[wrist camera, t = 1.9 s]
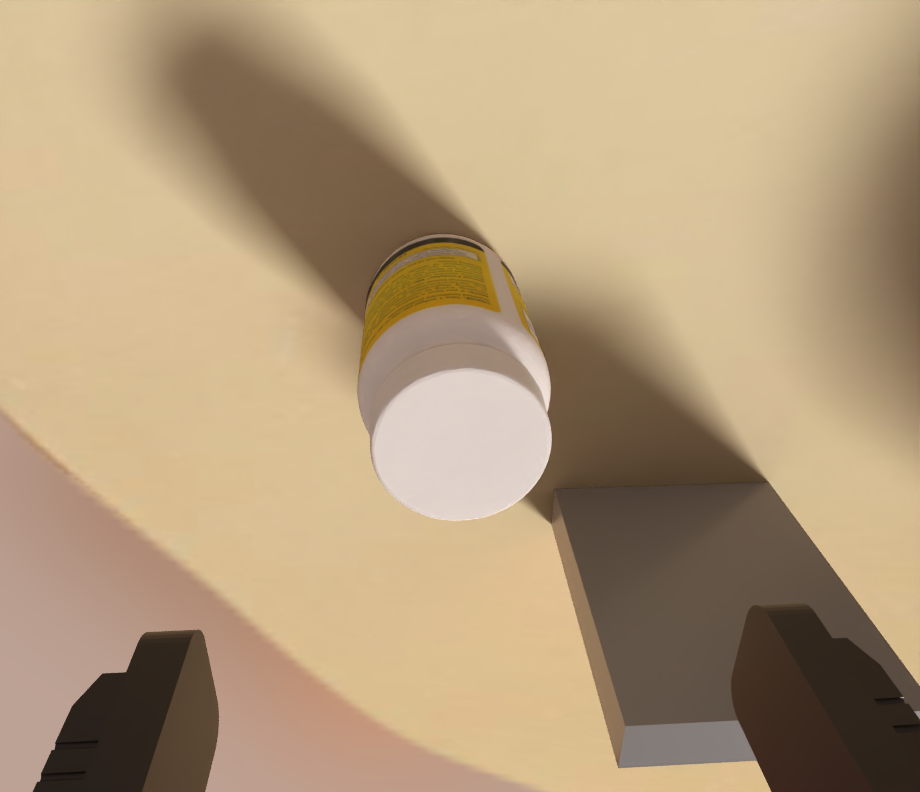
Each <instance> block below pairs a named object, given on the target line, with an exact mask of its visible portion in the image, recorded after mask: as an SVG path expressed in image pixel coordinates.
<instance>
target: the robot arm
mask: <svg viewBox="0 0 920 792" xmlns="http://www.w3.org/2000/svg"><path fill="white" fill-rule="evenodd" d="M731 694H732V701H733V706H734V710H735V713H736V716H737V719H738V721H739V723H740V726H741V728H742V730H743V732H744V734H745V736H746V738H747V740H748V743H749V745H750V747H751V749H752V751H753V753H754V755H755V757H756V760H757V762H758V764H759V766H760V768H761V770H762V772H763V774H764V777H765V779H766V781H767V783H768V785H769V787H770V789H771V791H772V792H920V719H919V717H918V716H917V715H916V713H915V712H914V710H913V709H912V708H911V706H910V705H909V704H905V702H904V697H903V695H902V694H901V692H900V691H899V690H898V688H897V687H896V686H895V684H894V683H893V681H892V680H891V679H890V677H889V676H888V675H887V673H886V672H885V670H884V669H883V668H882V666H881V665H880V664H879V663H878V662H876V661H875V660H874V659H873V658H871V657H870V656H869V655H868V654H866V653H865V652H864V651H863V650H861V649H860V648H859V647H858V646H856V645H855V644H854V643H853V642H852V641H850V640H849V639H848V638H832V637H831V635H830V634H829V632H828V631H827V629H826V628H825V626H824V625H823V623H822V622H821V620H820V619H819V617H818V616H817V614H816V613H815V612H814V610H813V609H812V608H811V607H810V606H809V605H807V604H805V603H790V604H769V605H754V606H752V607H751V608H750V609H749V611H748V613H747V617H746V621H745V625H744V629H743V633H742V637H741V641H740V644H739V648H738V652H737V656H736V660H735V664H734V668H733V672H732V677H731ZM218 722H219V711H218V701H217V696H216V691H215V686H214V682H213V677H212V672H211V667H210V662H209V658H208V653H207V648H206V644H205V639H204V635H203V633H202V632H201V631H200V630H184V631H164V632H146V633H144V634H143V635H142V637H141V638H140V640H139V642H138V644H137V647H136V649H135V652H134V654H133V657H132V659H131V662H130V664H129V667H128V669H127V672H125V673H105V674H102V675H101V676H100V677H99V678H98V679H97V680H96V681H95V682H94V683H93V684H92V685H91V686H90V688H89V689H88V690H87V691H86V692H85V693H84V694H83V695H82V696H81V697H80V698H79V699H78V700H77V701H76V703H75V704H74V705H73V706H72V708H71V710H70V712H69V714H68V716H67V719H66V721H65V723H64V725H63V727H62V729H61V732H60V734H59V736H58V738H57V740H56V742H55V744H56V746H55V750H52V751H51V754H50V755H49V758H48V760H47V762H46V764H45V766H44V768H43V771H42V773H41V780H40V782H37V784H36V786H35V788H34V790H33V792H205V790H206V786H207V782H208V777H209V773H210V769H211V765H212V761H213V757H214V753H215V749H216V743H217V737H218V724H219V723H218Z"/></svg>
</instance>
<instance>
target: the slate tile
mask: <svg viewBox="0 0 920 792" xmlns="http://www.w3.org/2000/svg"><path fill="white" fill-rule="evenodd" d="M552 528H553V532H554V535H555V539H556V542H557V546H558V550H559V553H560V557H561V561H562V564H563V568H564V572H565V575H566V579H567V583H568V586H569V590H570V594H571V597H572V601H573V605H574V608H575V612H576V616H577V619H578V623H579V626H580V630H581V634H582V637H583V641H584V645H585V648H586V652H587V656H588V659H589V663H590V667H591V670H592V674H593V678H594V681H595V685H596V689H597V692H598V696H599V699H600V703H601V707H602V710H603V714H604V718H605V721H606V725H607V729H608V732H609V736H610V740H611V743H612V747H613V751H614V754H615V758H616V762H617V765H618V768H629V767H648V766H666V765H684V764H702V763H721V762H739V761H757V760H756V757H755V755H754V753H753V751H752V749H751V747H750V745H749V743H748V740H747V738H746V736H745V734H744V732H743V730H742V728H741V726H740V723H739V721H738V719H737V716H736V713H735V710H734V706H733V701H732V694H731V677H732V672H733V668H734V664H735V660H736V656H737V652H738V648H739V644H740V641H741V637H742V633H743V629H744V625H745V621H746V617H747V613H748V611H749V609H750V608H751V607H752V606H754V605H769V604H790V603H805V604H807V605H809V606H810V607H811V608H812V609H813V610H814V612H815V613H816V614H817V616H818V617H819V619H820V620H821V622H822V623H823V625H824V626H825V628H826V629H827V631H828V632H829V634H830V635H831V637H832V638H848V639H849V640H850V641H852V642H853V643H854V644H855V645H856V646H858V647H859V648H860V649H861V650H863V651H864V652H865V653H866V654H868V655H869V656H870V657H871V658H873V659H874V660H875V661H876V662H878V663H879V664H880V665H881V666H882V668H883V669H884V670H885V672H886V673H887V675H888V676H889V677H890V679H891V680H892V681H893V683H894V684H895V686H896V687H897V688H898V690H899V691H900V692H901V694H902V695H903V697H904V702H905V704H909V705H910V706H911V708H912V709H913V710H914V712H915V713H916V715H917V716H918V717H919V719H920V686H919V685H918V683H917V682H916V681H915V679H914V678H913V676H912V675H911V674H910V672H909V671H908V670H907V668H906V667H905V666H904V664H903V663H902V662H901V660H900V659H899V658H898V656H897V655H896V654H895V652H894V651H893V649H892V648H891V647H890V645H889V644H888V643H887V641H886V640H885V639H884V637H883V636H882V635H881V633H880V632H879V631H878V629H877V628H876V626H875V625H874V624H873V622H872V621H871V620H870V618H869V617H868V616H867V614H866V613H865V612H864V610H863V609H862V608H861V606H860V605H859V604H858V602H857V601H856V599H855V598H854V597H853V595H852V594H851V593H850V591H849V590H848V589H847V587H846V586H845V585H844V583H843V582H842V581H841V579H840V578H839V577H838V575H837V574H836V572H835V571H834V570H833V568H832V567H831V566H830V564H829V563H828V562H827V560H826V559H825V558H824V556H823V555H822V554H821V552H820V551H819V549H818V548H817V547H816V545H815V544H814V543H813V541H812V540H811V539H810V537H809V536H808V535H807V533H806V532H805V531H804V529H803V528H802V527H801V525H800V524H799V522H798V521H797V520H796V518H795V517H794V516H793V514H792V513H791V512H790V510H789V509H788V508H787V506H786V505H785V504H784V502H783V501H782V499H781V498H780V497H779V495H778V494H777V493H776V491H775V490H774V489H773V487H772V486H771V485H770V483H769V482H757V483H726V484H695V485H664V486H634V487H603V488H572V489H554V500H553V512H552Z"/></svg>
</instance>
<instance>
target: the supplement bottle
mask: <svg viewBox="0 0 920 792" xmlns="http://www.w3.org/2000/svg"><path fill="white" fill-rule="evenodd" d="M357 393H358V403H359V409H360V413H361V416H362V419H363V422H364V424H365V427H366V429H367V431H368V432H369V434H370V452H371V459H372V463H373V466H374V469H375V471H376V474H377V476H378V478H379V480H380V481H381V483H382V484H383V486H384V487H385V489H386V490H387V491H388V492H389V493H390V494H391V495H392V496H393V497H394V498H395V499H396V500H397V501H399V502H400V503H401V504H402V505H404V506H406V507H407V508H409V509H411V510H413V511H415V512H417V513H419V514H422V515H425V516H428V517H431V518H436V519H441V520H451V521H460V520H473V519H479V518H483V517H487V516H490V515H493V514H496V513H498V512H500V511H503V510H505V509H506V508H508V507H510V506H512V505H513V504H515V503H516V502H517V501H519V500H520V499H522V498H523V497H524V496H525V495H526V494H527V493H528V492H529V491H530V490H531V489H532V488H533V487H534V485H535V484H536V483H537V481H538V480H539V479H540V477H541V475H542V473H543V471H544V469H545V467H546V465H547V462H548V460H549V456H550V451H551V444H552V433H551V426H550V421H549V418H548V414H547V412H548V408H549V403H550V395H551V384H550V377H549V371H548V366H547V363H546V360H545V357H544V354H543V351H542V349H541V347H540V344H539V342H538V339H537V336H536V334H535V331H534V329H533V326H532V323H531V320H530V318H529V315H528V313H527V310H526V307H525V305H524V302H523V299H522V297H521V294H520V292H519V289H518V287H517V285H516V282H515V280H514V277H513V275H512V273H511V272H510V270H509V268H508V267H507V265H506V264H505V263H504V262H503V260H502V259H501V258H500V257H499V256H498V255H497V254H496V253H494V252H493V251H492V250H491V249H489V248H488V247H486V246H484V245H483V244H481V243H479V242H476V241H474V240H472V239H469V238H466V237H463V236H458V235H452V234H434V235H428V236H424V237H420V238H417V239H415V240H412V241H410V242H408V243H406V244H404V245H403V246H401V247H399V248H398V249H397V250H396V251H394V252H393V253H392V254H391V255H390V256H389V257H388V258H387V259H386V260H385V261H384V262H383V263H382V265H381V266H380V267H379V269H378V271H377V272H376V274H375V276H374V278H373V280H372V283H371V286H370V288H369V291H368V294H367V300H366V310H365V322H364V331H363V339H362V348H361V358H360V368H359V377H358V390H357Z"/></svg>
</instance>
